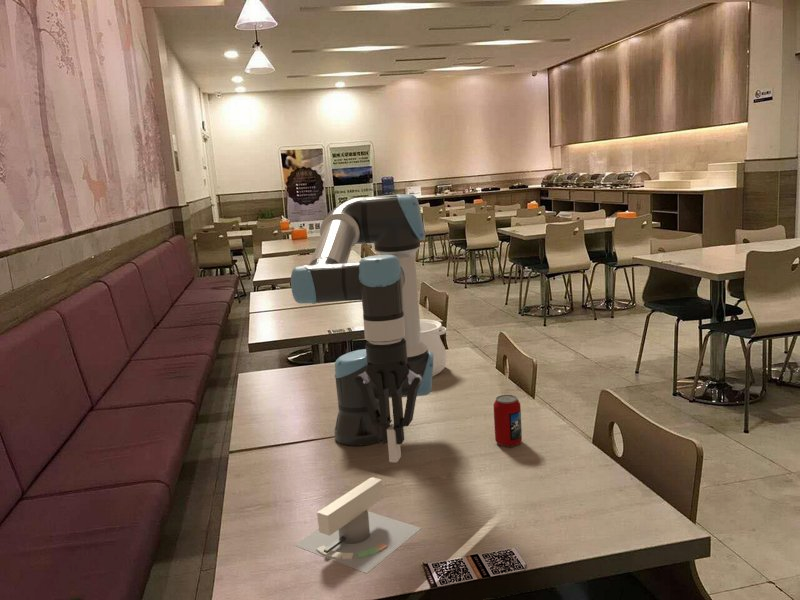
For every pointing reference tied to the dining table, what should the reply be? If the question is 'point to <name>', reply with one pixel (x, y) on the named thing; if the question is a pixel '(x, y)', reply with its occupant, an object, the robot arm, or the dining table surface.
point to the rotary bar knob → (350, 513)
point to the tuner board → (362, 543)
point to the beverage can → (507, 420)
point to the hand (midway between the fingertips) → (395, 459)
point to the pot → (434, 342)
